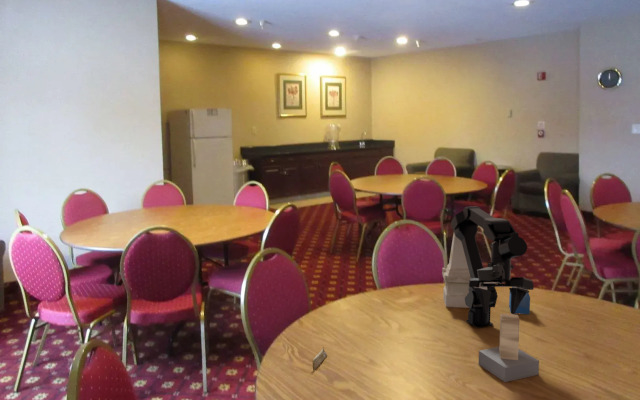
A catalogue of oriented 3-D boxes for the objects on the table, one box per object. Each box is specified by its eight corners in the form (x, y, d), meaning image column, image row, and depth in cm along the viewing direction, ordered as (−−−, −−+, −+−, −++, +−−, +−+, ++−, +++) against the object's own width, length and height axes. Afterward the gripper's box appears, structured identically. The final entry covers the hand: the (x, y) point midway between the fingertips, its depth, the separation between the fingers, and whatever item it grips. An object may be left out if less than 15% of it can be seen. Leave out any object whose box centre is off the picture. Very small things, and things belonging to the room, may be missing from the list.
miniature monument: (441, 297, 202) (443, 221, 197) (469, 298, 200) (471, 221, 196) (444, 307, 192) (445, 227, 187) (473, 308, 190) (476, 227, 186)
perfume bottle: (527, 308, 189) (528, 276, 187) (529, 314, 183) (530, 281, 181) (509, 307, 191) (510, 275, 189) (510, 313, 185) (511, 280, 183)
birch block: (499, 351, 145) (500, 313, 144) (516, 352, 144) (517, 314, 143) (500, 358, 141) (501, 319, 140) (518, 360, 140) (519, 320, 138)
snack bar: (314, 371, 145) (314, 360, 145) (310, 370, 146) (309, 360, 145) (327, 356, 154) (327, 346, 153) (322, 355, 154) (322, 346, 154)
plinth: (510, 357, 150) (511, 344, 150) (538, 374, 140) (539, 360, 140) (478, 364, 147) (478, 350, 146) (504, 382, 136) (505, 367, 136)
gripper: (458, 256, 161) (455, 308, 157) (512, 253, 146) (510, 310, 142) (481, 263, 167) (479, 313, 163) (535, 261, 152) (533, 315, 148)
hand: (498, 313), depth 153 cm, fingers open, 9 cm apart
